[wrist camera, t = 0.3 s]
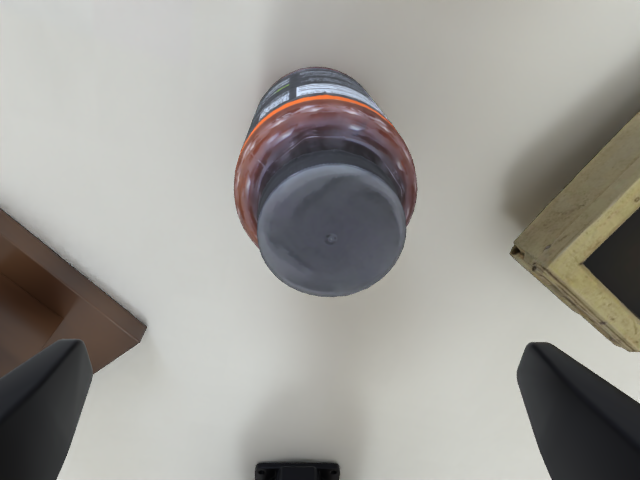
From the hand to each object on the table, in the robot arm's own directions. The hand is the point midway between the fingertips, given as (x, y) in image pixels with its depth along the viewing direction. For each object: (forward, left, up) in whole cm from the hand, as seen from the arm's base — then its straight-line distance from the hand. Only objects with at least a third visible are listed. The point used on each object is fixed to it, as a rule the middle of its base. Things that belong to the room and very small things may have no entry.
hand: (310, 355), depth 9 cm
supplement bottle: (+1, 0, -15) cm, 15 cm away
